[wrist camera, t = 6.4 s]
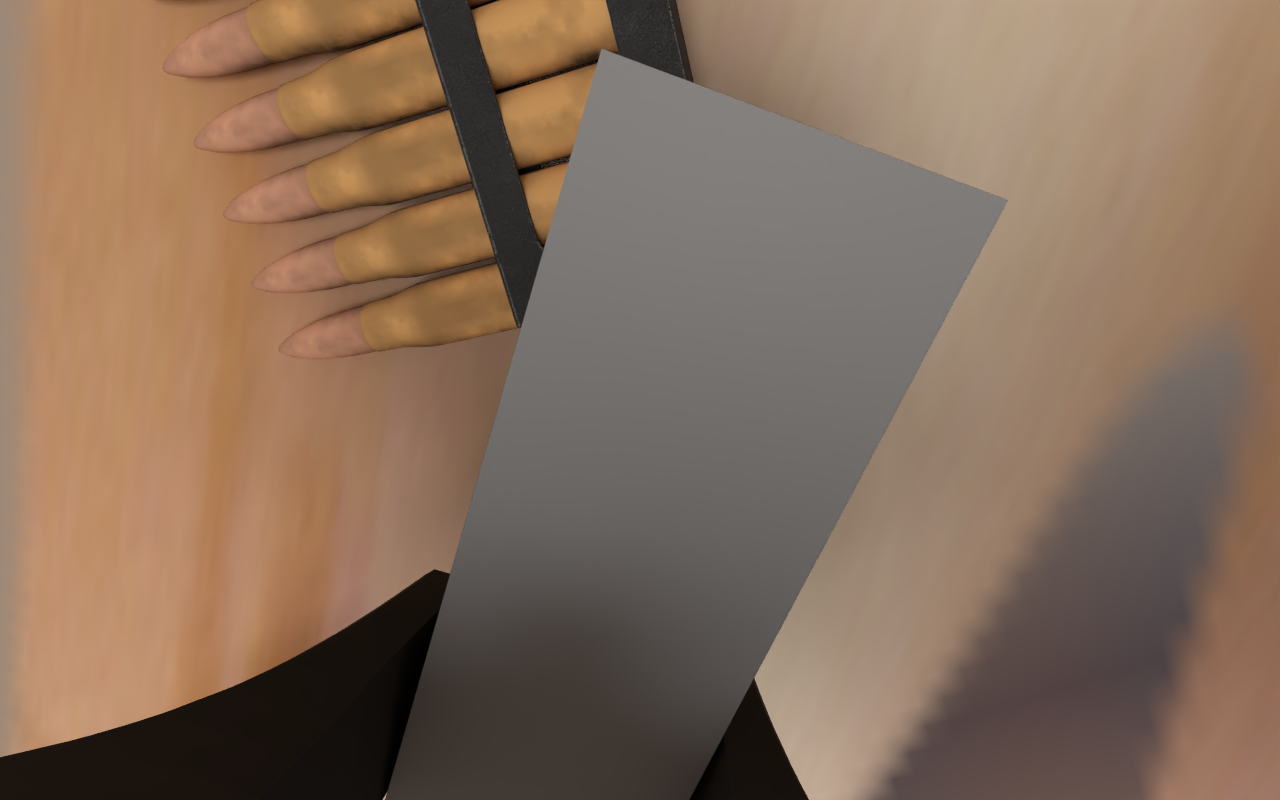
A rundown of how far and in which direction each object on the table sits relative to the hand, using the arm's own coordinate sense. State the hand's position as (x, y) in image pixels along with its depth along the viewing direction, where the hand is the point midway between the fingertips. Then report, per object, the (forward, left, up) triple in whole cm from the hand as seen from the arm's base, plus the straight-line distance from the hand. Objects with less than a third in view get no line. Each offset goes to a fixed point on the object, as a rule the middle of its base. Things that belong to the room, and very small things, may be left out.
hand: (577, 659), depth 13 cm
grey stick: (0, 0, -2) cm, 2 cm away
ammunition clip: (+1, -11, -7) cm, 13 cm away
